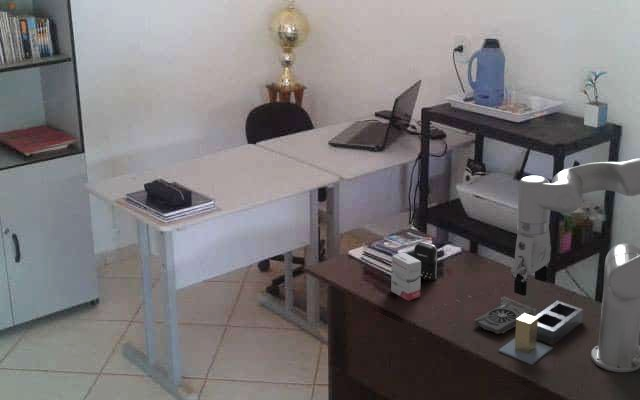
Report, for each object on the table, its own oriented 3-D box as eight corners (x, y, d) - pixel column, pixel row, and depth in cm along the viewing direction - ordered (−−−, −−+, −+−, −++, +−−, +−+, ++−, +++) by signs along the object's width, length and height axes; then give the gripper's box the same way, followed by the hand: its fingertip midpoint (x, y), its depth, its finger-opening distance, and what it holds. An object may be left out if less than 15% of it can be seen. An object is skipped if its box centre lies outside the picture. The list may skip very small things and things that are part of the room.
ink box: (421, 296, 258) (421, 260, 254) (408, 301, 255) (408, 265, 251) (403, 286, 265) (403, 250, 260) (390, 291, 262) (389, 255, 258)
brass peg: (536, 348, 228) (537, 317, 225) (528, 354, 225) (529, 323, 222) (522, 343, 230) (524, 313, 227) (514, 349, 228) (516, 318, 224)
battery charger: (412, 277, 270) (412, 244, 266) (418, 273, 273) (419, 239, 269) (431, 283, 266) (431, 249, 262) (437, 278, 269) (438, 245, 264)
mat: (552, 349, 228) (552, 347, 228) (531, 364, 221) (532, 363, 221) (518, 336, 234) (519, 335, 234) (498, 351, 228) (498, 349, 228)
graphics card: (503, 294, 251) (537, 307, 242) (503, 305, 252) (537, 319, 244) (464, 314, 241) (499, 329, 233) (464, 326, 243) (498, 341, 234)
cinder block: (582, 322, 241) (583, 309, 239) (552, 344, 230) (553, 331, 228) (556, 313, 246) (557, 300, 244) (526, 334, 235) (526, 322, 234)
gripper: (527, 240, 207) (525, 304, 213) (564, 218, 218) (561, 279, 224) (500, 232, 212) (499, 295, 218) (537, 211, 223) (535, 271, 229)
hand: (530, 287), depth 221 cm, fingers open, 9 cm apart
